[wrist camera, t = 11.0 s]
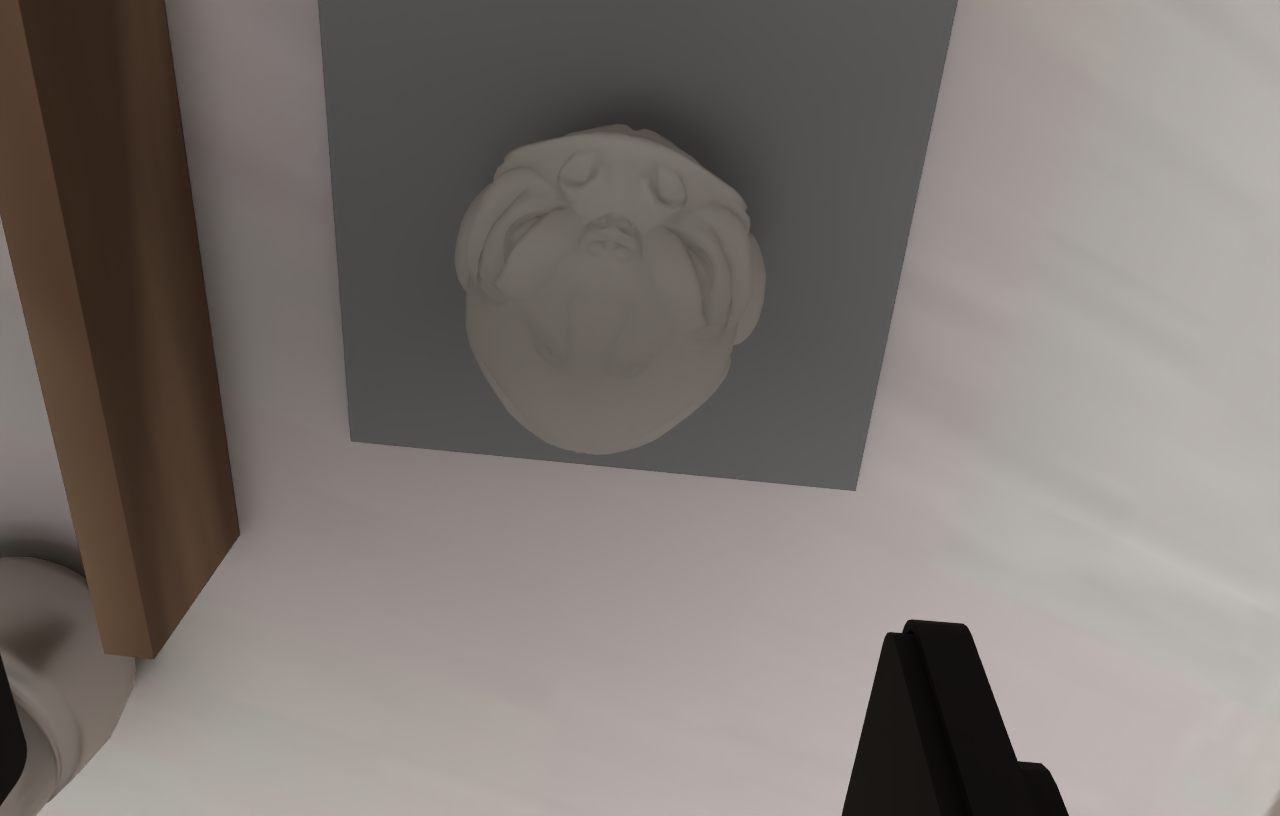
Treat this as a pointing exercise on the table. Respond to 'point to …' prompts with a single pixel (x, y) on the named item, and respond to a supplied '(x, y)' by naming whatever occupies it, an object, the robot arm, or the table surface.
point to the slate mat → (697, 124)
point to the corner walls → (116, 304)
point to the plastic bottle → (56, 676)
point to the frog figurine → (606, 286)
